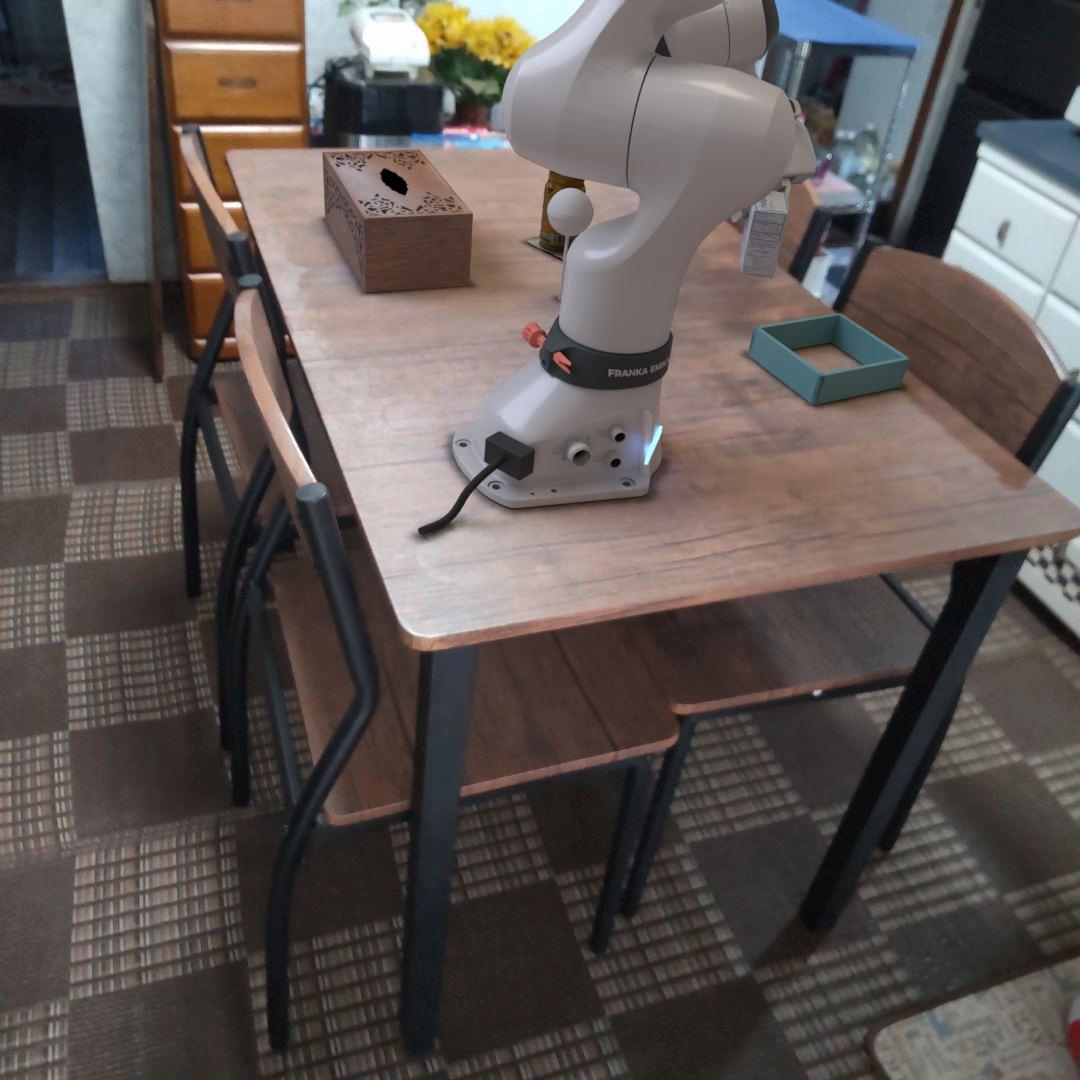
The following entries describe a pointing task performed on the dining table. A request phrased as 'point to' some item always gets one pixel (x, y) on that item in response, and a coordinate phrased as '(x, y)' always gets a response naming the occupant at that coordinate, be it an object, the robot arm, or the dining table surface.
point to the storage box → (816, 387)
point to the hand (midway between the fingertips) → (762, 218)
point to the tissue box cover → (397, 220)
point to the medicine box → (763, 235)
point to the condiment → (548, 235)
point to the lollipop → (569, 217)
